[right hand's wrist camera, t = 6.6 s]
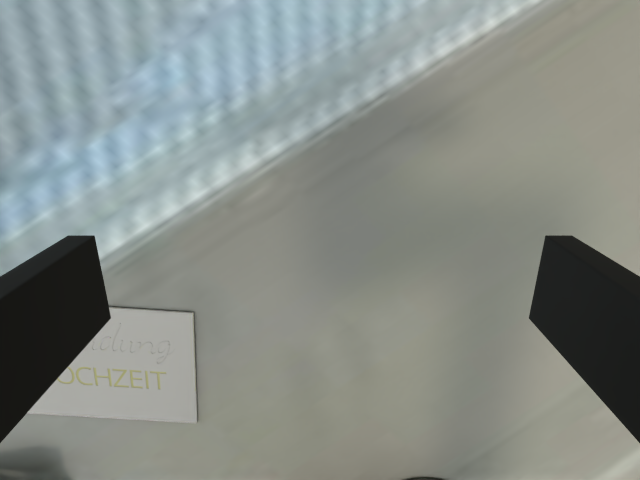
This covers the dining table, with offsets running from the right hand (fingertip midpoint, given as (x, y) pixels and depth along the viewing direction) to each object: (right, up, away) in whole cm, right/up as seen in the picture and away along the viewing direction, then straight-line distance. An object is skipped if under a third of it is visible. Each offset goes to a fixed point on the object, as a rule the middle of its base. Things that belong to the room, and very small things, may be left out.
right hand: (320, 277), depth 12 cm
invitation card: (-25, -13, +35) cm, 44 cm away
